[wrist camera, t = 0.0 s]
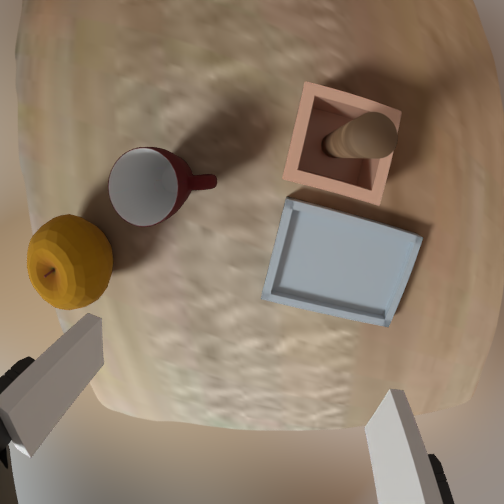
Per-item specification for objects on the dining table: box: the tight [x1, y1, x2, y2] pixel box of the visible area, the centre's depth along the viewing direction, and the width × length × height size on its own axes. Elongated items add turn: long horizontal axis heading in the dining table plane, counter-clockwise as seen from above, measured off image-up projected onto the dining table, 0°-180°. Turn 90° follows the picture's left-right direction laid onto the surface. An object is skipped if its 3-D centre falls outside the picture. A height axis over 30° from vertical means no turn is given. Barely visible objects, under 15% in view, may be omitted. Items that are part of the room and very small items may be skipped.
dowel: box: [321, 112, 398, 159], centre depth 26 cm, size 3×3×18 cm
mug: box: [108, 147, 217, 227], centre depth 33 cm, size 10×8×10 cm
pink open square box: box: [282, 81, 402, 206], centre depth 31 cm, size 10×10×8 cm
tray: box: [261, 197, 423, 327], centre depth 38 cm, size 18×13×2 cm
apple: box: [27, 214, 113, 310], centre depth 37 cm, size 13×13×11 cm
